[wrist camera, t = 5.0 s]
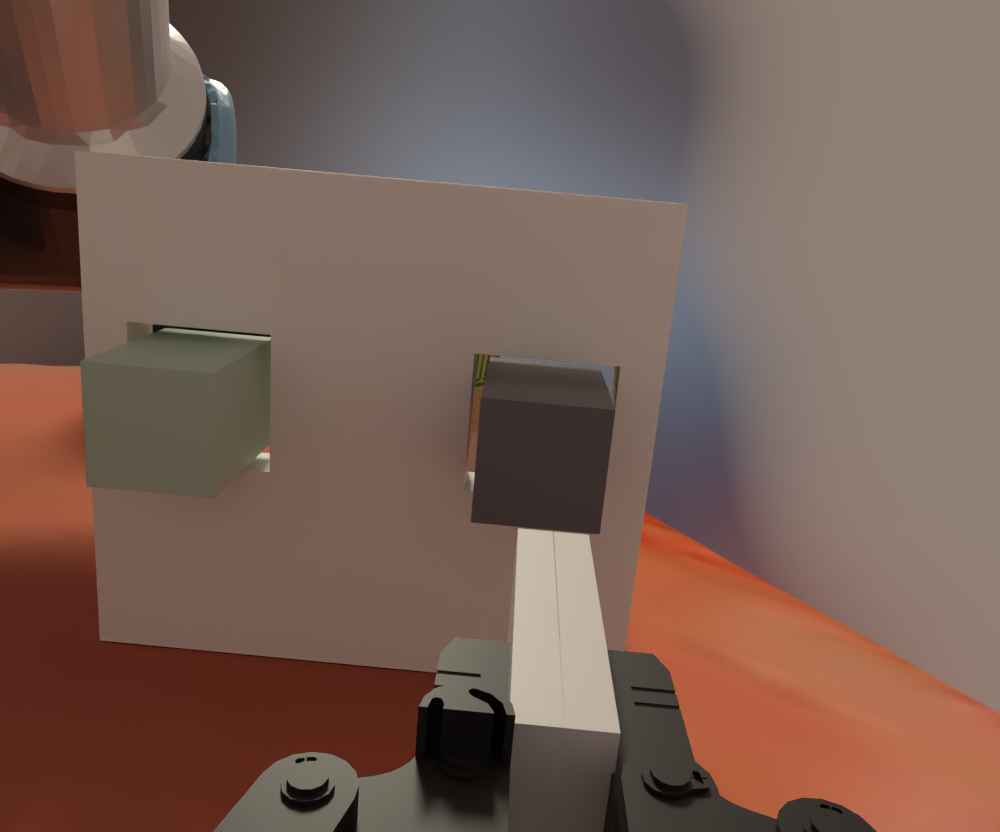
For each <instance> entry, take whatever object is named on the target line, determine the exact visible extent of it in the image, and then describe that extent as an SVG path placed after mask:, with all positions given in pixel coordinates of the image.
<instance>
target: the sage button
mask: <svg viewBox="0 0 1000 832" xmlns="http://www.w3.org/2000/svg"><path fill="white" fill-rule="evenodd" d="M80 366H81V384H82V403H83V422H84V441H85V459H86V478H87V487H97V488H107V489H118V490H129V491H140V492H150V493H161V494H172V495H182V496H193V497H204V498H215V497H216V496H217V495H218V494H219V493H220V492H221V491H222V490H224V489H225V488H226V487H227V486H228V485H229V484H230V483H231V482H232V481H233V480H234V479H235V478H236V477H237V476H238V475H239V474H240V473H241V472H242V471H243V470H244V469H245V468H246V467H247V466H248V465H249V464H250V463H251V462H252V461H253V460H254V459H255V458H256V457H257V456H258V455H259V454H260V453H261V452H262V451H263V450H264V449H265V448H266V447H267V446H268V445H269V444H270V372H271V337H261V336H250V335H239V334H228V333H217V332H206V331H195V330H184V329H173V328H164V329H162V330H159V331H157V332H154V333H151V334H149V335H146V336H144V337H141V338H138V339H136V340H133V341H131V342H128V343H126V344H123V345H120V346H118V347H115V348H113V349H110V350H107V351H105V352H102V353H100V354H97V355H94V356H92V357H89V358H87V359H84V360H82V361H80Z"/></svg>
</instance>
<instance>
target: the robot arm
mask: <svg viewBox="0 0 1000 832" xmlns="http://www.w3.org/2000/svg"><path fill="white" fill-rule="evenodd" d="M74 150H76V151H89V152H102V153H113V154H125V155H136V156H148V157H159V158H170V159H182V160H193V161H204V162H216V163H227V164H236V124H235V112H234V106H233V100H232V97H231V94H230V92H229V91H228V89H227V88H226V87H225V86H224V85H223V84H222V83H220V82H218V81H215V80H212V79H209V78H208V77H207V76H205V75H203V74H202V71H201V68H200V66H199V63H198V60H197V58H196V56H195V54H194V53H193V51H192V49H191V48H190V46H189V44H188V43H187V42H186V41H185V40H184V38H183V37H182V36H181V35H180V33H179V32H178V31H177V30H176V29H175V28H174V27H173V26H172V25H171V24H170V23H169V8H168V0H0V289H23V290H53V291H81V292H82V287H81V267H80V248H79V229H78V209H77V190H76V171H75V152H74ZM213 832H876V830H875V829H873V828H872V827H871V826H870V825H869V824H868V823H867V822H866V821H865V820H864V819H863V818H862V817H860V816H859V815H857V814H855V813H854V812H852V811H850V810H848V809H847V808H845V807H843V806H841V805H838V804H835V803H832V802H829V801H826V800H823V799H813V798H800V799H796V800H792V801H789V802H787V803H786V804H785V805H784V806H783V807H782V808H781V809H780V810H779V813H778V818H777V819H774V818H771V817H768V816H765V815H762V814H759V813H756V812H753V811H750V810H747V809H745V808H743V807H740V806H738V805H735V804H733V803H731V802H730V801H728V800H726V799H725V798H723V797H721V796H720V795H719V792H718V789H717V786H716V784H715V783H714V781H713V779H712V777H711V776H710V774H709V773H708V772H707V771H706V770H704V769H703V768H702V767H701V766H700V765H699V764H698V763H696V762H695V760H694V757H693V753H692V750H691V746H690V743H689V739H688V735H687V732H686V728H685V725H684V721H683V718H682V714H681V711H680V710H679V703H678V700H677V696H676V694H675V689H674V686H673V682H672V678H671V675H670V672H669V671H668V669H667V668H666V667H665V666H664V665H663V664H662V663H661V662H660V661H659V660H658V659H657V658H656V656H655V655H654V654H647V653H637V652H627V651H616V650H607V645H606V639H605V633H604V627H603V620H602V614H601V608H600V602H599V595H598V589H597V583H596V576H595V570H594V564H593V558H592V551H591V545H590V539H589V535H585V534H574V533H564V532H553V531H542V530H532V529H521V528H518V533H517V543H516V554H515V564H514V574H513V584H512V594H511V605H510V615H509V625H508V635H507V642H501V641H490V640H480V639H470V638H459V637H455V638H454V639H453V640H452V641H451V642H450V643H449V644H448V645H447V646H446V647H445V648H444V649H443V650H442V651H441V653H440V658H439V663H438V668H437V673H436V678H435V683H434V688H433V690H432V691H431V692H429V693H428V694H426V695H425V696H424V698H423V699H422V701H421V703H420V705H419V709H418V724H417V739H416V754H415V757H414V758H413V759H412V760H411V761H410V762H408V763H407V764H405V765H404V766H403V767H401V768H398V769H396V770H394V771H391V772H389V773H384V774H380V775H376V776H369V777H362V778H357V773H356V771H355V770H354V769H353V768H352V767H351V766H350V765H349V763H348V762H347V761H345V760H343V759H341V758H339V757H336V756H334V755H332V754H326V753H318V752H308V753H300V754H293V755H291V756H288V757H286V758H284V759H281V760H279V761H276V762H275V763H274V764H273V765H271V766H270V767H269V768H268V769H266V770H265V771H264V772H263V773H262V774H261V775H260V776H259V778H258V779H257V780H256V781H255V782H254V784H253V785H252V786H251V787H250V788H249V790H248V791H247V792H246V793H245V794H244V795H243V797H242V798H241V799H240V800H239V801H238V803H237V804H236V805H235V806H234V807H233V809H232V810H231V811H230V812H229V813H228V814H227V816H226V817H225V818H224V819H223V820H222V822H221V823H220V824H219V825H218V826H217V828H216V829H215V830H214V831H213Z"/></svg>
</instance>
